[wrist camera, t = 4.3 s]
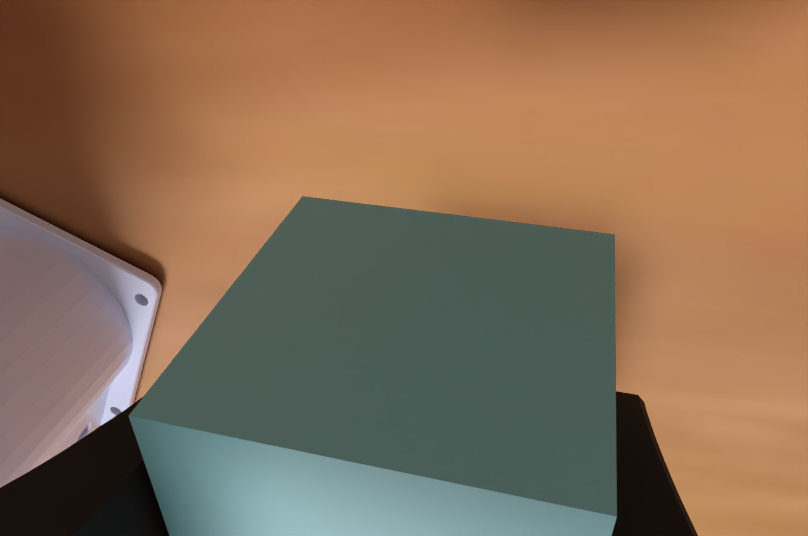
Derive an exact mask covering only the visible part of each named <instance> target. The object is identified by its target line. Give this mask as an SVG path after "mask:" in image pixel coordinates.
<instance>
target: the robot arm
mask: <svg viewBox="0 0 808 536" xmlns="http://www.w3.org/2000/svg"><path fill="white" fill-rule="evenodd" d="M161 292H162V287H161V284H160V282H159V281H158V280H157V279H156V278H155V277H154V276H152V275H150V274H148V273H146V272H144V271H142V270H140V269H138V268H136V267H135V266H133V265H131V264H129V263H127V262H125V261H123V260H121V259H119V258H117V257H115V256H113V255H111V254H109V253H107V252H105V251H103V250H101V249H99V248H97V247H95V246H93V245H91V244H89V243H87V242H85V241H83V240H81V239H79V238H77V237H75V236H73V235H71V234H69V233H67V232H65V231H63V230H62V229H60V228H58V227H56V226H54V225H52V224H50V223H48V222H46V221H44V220H42V219H40V218H38V217H36V216H34V215H32V214H30V213H28V212H26V211H24V210H22V209H20V208H18V207H16V206H14V205H12V204H10V203H8V202H6V201H4V200H2V199H0V536H169V533H168V530H167V527H166V524H165V521H164V518H163V515H162V512H161V510H160V507H159V504H158V501H157V498H156V495H155V492H154V489H153V486H152V483H151V480H150V477H149V474H148V472H147V469H146V466H145V463H144V460H143V457H142V454H141V451H140V448H139V445H138V442H137V439H136V436H135V434H134V431H133V428H132V425H131V422H130V419H129V414H130V413H131V412H132V411H133V409H134V408H135V407H136V406H137V404H138V403H139V402H140V401H141V399H142V398H143V397H142V398H141V399H139V400H138V401H137V402H135V403H134V399H135V395H136V391H137V387H138V383H139V379H140V375H141V371H142V367H143V363H144V359H145V355H146V351H147V348H148V344H149V340H150V336H151V332H152V328H153V324H154V320H155V316H156V312H157V308H158V304H159V300H160V296H161ZM144 296H145V297H146V298H145V297H144ZM133 403H134V404H133ZM99 424H100V425H101V426H100V427H98V425H99ZM97 427H98V428H97ZM96 428H97V429H96ZM616 465H617V518H616V522H615V525H614V529H613V532H612V536H698V535H697V533H696V531H695V528H694V526H693V524H692V522H691V520H690V518H689V516H688V514H687V511H686V509H685V507H684V505H683V503H682V501H681V499H680V496H679V494H678V492H677V490H676V487H675V485H674V483H673V480H672V478H671V476H670V473H669V471H668V468H667V466H666V463H665V461H664V458H663V456H662V453H661V451H660V448H659V446H658V443H657V440H656V438H655V435H654V432H653V429H652V426H651V423H650V420H649V417H648V414H647V411H646V407H645V404H644V402H643V401H642V399H641V398H640V397H639V396H638V395H634V394H628V393H622V392H616Z"/></svg>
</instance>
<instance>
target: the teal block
mask: <svg viewBox="0 0 808 536" xmlns="http://www.w3.org/2000/svg"><path fill="white" fill-rule="evenodd" d="M129 419H130V422H131V425H132V428H133V431H134V434H135V436H136V439H137V442H138V445H139V448H140V451H141V454H142V457H143V460H144V463H145V466H146V469H147V472H148V474H149V477H150V480H151V483H152V486H153V489H154V492H155V495H156V498H157V501H158V504H159V507H160V510H161V512H162V515H163V518H164V521H165V524H166V527H167V530H168V533H169V536H612V532H613V529H614V525H615V522H616V518H617V465H616V349H615V235H614V234H606V233H598V232H590V231H582V230H573V229H565V228H557V227H549V226H541V225H533V224H524V223H516V222H508V221H500V220H492V219H484V218H475V217H467V216H459V215H451V214H443V213H435V212H426V211H418V210H410V209H402V208H394V207H386V206H377V205H369V204H361V203H353V202H345V201H337V200H328V199H320V198H312V197H304V196H302V198H301V199H300V200H299V201H298V203H297V204H296V205H295V206H294V208H293V209H292V210H291V211H290V213H289V214H288V215H287V217H286V218H285V219H284V220H283V222H282V223H281V224H280V225H279V227H278V228H277V229H276V230H275V232H274V233H273V234H272V235H271V237H270V238H269V239H268V240H267V242H266V243H265V244H264V246H263V247H262V248H261V249H260V251H259V252H258V253H257V254H256V256H255V257H254V258H253V259H252V261H251V262H250V263H249V264H248V266H247V267H246V268H245V269H244V271H243V272H242V273H241V275H240V276H239V277H238V278H237V280H236V281H235V282H234V283H233V285H232V286H231V287H230V288H229V290H228V291H227V292H226V293H225V295H224V296H223V297H222V298H221V300H220V301H219V302H218V304H217V305H216V306H215V307H214V309H213V310H212V311H211V312H210V314H209V315H208V316H207V317H206V319H205V320H204V321H203V322H202V324H201V325H200V326H199V327H198V329H197V330H196V331H195V333H194V334H193V335H192V336H191V338H190V339H189V340H188V341H187V343H186V344H185V345H184V346H183V348H182V349H181V350H180V351H179V353H178V354H177V355H176V356H175V358H174V359H173V360H172V362H171V363H170V364H169V365H168V367H167V368H166V369H165V370H164V372H163V373H162V374H161V375H160V377H159V378H158V379H157V380H156V382H155V383H154V384H153V385H152V387H151V388H150V389H149V390H148V392H147V393H146V394H145V396H144V397H143V398H142V399H141V401H140V402H139V403H138V404H137V406H136V407H135V408H134V409H133V411H132V412H131V413H130V414H129Z"/></svg>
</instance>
